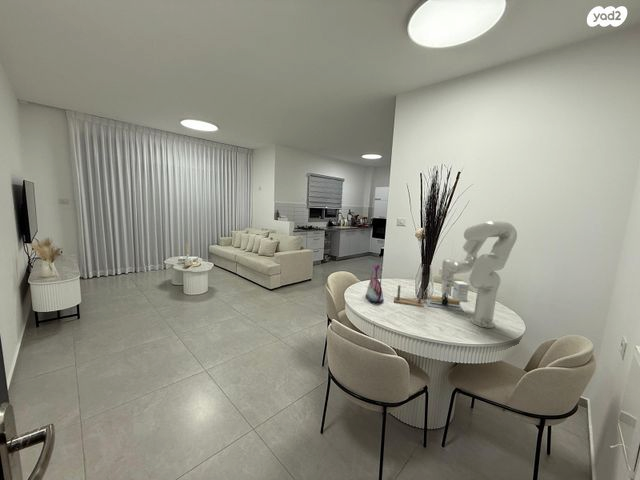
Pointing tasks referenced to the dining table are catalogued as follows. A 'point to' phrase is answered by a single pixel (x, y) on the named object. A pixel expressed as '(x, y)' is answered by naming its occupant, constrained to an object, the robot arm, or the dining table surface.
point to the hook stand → (409, 301)
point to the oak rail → (439, 299)
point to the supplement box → (460, 290)
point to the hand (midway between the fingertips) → (444, 303)
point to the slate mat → (444, 306)
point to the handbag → (375, 288)
